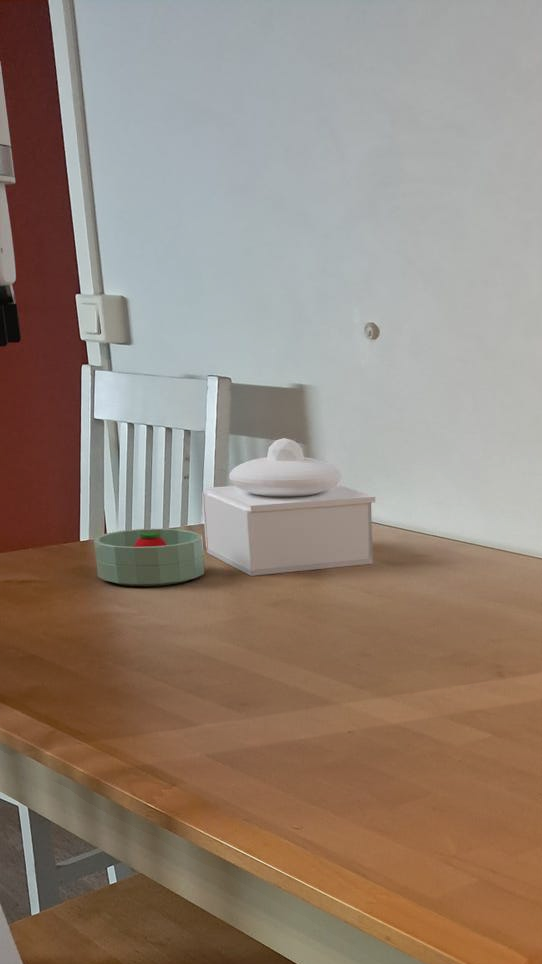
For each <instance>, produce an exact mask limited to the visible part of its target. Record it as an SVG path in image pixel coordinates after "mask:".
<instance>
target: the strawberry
mask: <svg viewBox="0 0 542 964" xmlns="http://www.w3.org/2000/svg"><path fill="white" fill-rule="evenodd" d="M165 545H167V544H166V543H165V541H164V540H163V539H161V538H160V537H159V533H157V532H144V533H140V538H139V539H138V540H137V541H136V543H135V544H134V547H153V546H165Z"/></svg>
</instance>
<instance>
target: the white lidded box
mask: <svg viewBox="0 0 542 964" xmlns="http://www.w3.org/2000/svg"><path fill="white" fill-rule="evenodd" d="M228 479H229V481H230V483H231V484H232V485H226V486H213V487H212V486H211V487H206V488H205V490H206V491H205V492H201V496H202V497H201V499H202V512H203V513H202V514H203V526H204V536H205V539H204V540H205V548H206V553H207V554H208V555H211V556H212V557H214V558H216V559H218V560H219V561H221V562H223V563H225V564H227V565H229V566H231V567H233V568H235V569H237V570H239V571H240V572H242V573H244V574H246V575H248V576H250V577H253V576H263V575H273V574H283V573H284V574H285V573H293V572H294V573H295V572H304V571H313V570H322V569H324V570H325V569H335V568H343V567H354V566H362V565H363V566H364V565H373V563H374V560H373V559H374V558H373V557H374V556H373V555H374V554H373V520H372V518H373V517H372V503H373V504H374V503H376V496H375V495H372V494H369V493H365V492H362V491H359V490H356V489H353V488H350V487H346V486H343V485H340V484H339V483H340V481H341V479H342V474H341V472H340V470H338V469H337V467H335V465H332V464H330V463H329V462H326V461H324V460H320V459H316V458H312V457H305V456H304V452H303V448H302V446H300V445H299V444H298V443H297V441H296V440H293V439H290V438H286V437H283V438H280V439H276V440H275V441H274V442H272V444H271V445H270V446H269V447H268V450H267V456H266V457H265V456H264V457H258V458H255V459H251V460H248V461H245V462H243V463H240V464H238V465H236V466H235V467H233V469H231V471H230V472H229V475H228Z"/></svg>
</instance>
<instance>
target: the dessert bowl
mask: <svg viewBox="0 0 542 964" xmlns="http://www.w3.org/2000/svg"><path fill="white" fill-rule="evenodd" d="M144 532H157V533H159V537H160V538H161V539H163V540H164V541H165V543H166V544H167V545H165V546H153V547H134V544H135V543H136V541H137V540H138V539H139V538H140V533H144ZM93 544H94V554H95V562H96V572H97V578H99V579H101V580H103V581H105V582H110V583H113V584H117V585H122V586H128V587H158V586H159V587H160V586H161V587H162V586H169V585H177V584H183V583H186V582H188V581H191V580H193V579H198V578H200V577H202V576H203V575H205V573H206V572H205V571H206V569H205V557H204V556H205V555H204V544H203V534H201V533H198V532H196V531H193V530H187V529H181V528H180V529H179V528H136V529H127V530H119V531H118V530H117V531H113V532H107V533H103V534H101V535H98V536H96V537H95V538H94V541H93Z"/></svg>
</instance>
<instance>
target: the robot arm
mask: <svg viewBox="0 0 542 964" xmlns="http://www.w3.org/2000/svg"><path fill="white" fill-rule="evenodd" d="M1 63H2V62H0V347H3V348H4V347H6V346H8V344H9V343H10V344H11V343H13V344H16V343H17V344H18V343H20V342H21V341H22V335H21V329H20V328H21V327H20V320H19V319H20V318H19V312H18V304H17V303H16V296H15V292H14V287H13V284H14V283H15V282H16V279H17V274H16V273H17V272H16V261H15V252H14V242H13V241H14V240H13V235H12V226H11V219H10V212H9V204H8V199H7V198H8V197H7V192H6V185H14V184H16V176H15V169H14V160H13V152H12V143H11V136H10V128H9V119H8V112H7V111H8V110H7V105H6V104H7V103H6V95H5V89H4V87H5V86H4V78H3V73H2V72H3V71H2V65H1Z"/></svg>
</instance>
